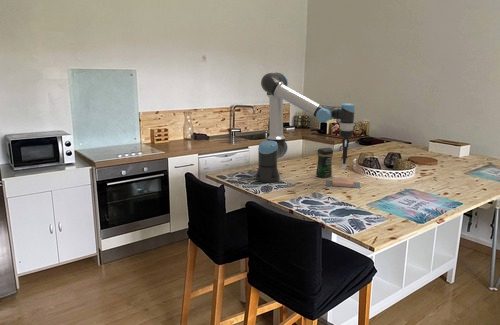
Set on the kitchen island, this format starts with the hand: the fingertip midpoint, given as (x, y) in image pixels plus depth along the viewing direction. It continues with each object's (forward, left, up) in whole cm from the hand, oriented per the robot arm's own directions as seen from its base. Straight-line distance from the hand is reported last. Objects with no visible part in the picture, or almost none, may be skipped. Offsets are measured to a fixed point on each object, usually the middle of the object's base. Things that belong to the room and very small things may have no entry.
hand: (343, 168), depth 229 cm
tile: (0, +3, -8) cm, 8 cm away
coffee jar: (-12, +12, -9) cm, 19 cm away
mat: (0, -4, -9) cm, 10 cm away
